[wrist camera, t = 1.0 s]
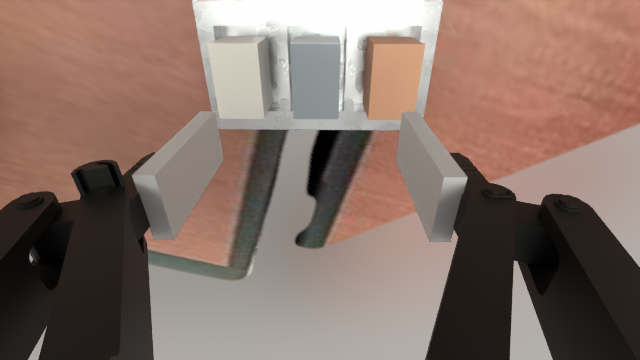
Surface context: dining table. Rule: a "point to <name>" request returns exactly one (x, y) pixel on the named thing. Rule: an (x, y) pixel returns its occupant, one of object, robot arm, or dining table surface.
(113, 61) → the dining table surface
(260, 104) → the cream block
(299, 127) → the grey tray
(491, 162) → the dining table surface
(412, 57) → the orange block
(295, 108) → the slate key
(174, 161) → the robot arm
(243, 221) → the dining table surface
